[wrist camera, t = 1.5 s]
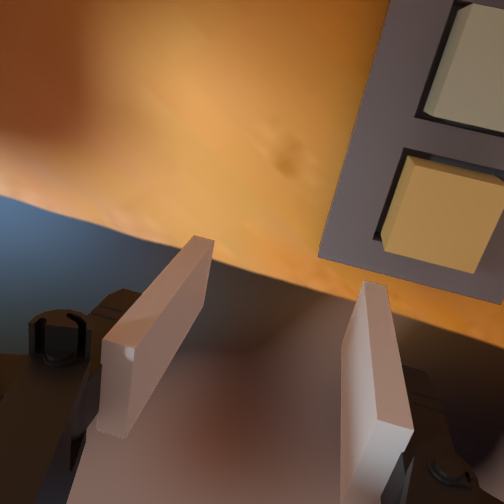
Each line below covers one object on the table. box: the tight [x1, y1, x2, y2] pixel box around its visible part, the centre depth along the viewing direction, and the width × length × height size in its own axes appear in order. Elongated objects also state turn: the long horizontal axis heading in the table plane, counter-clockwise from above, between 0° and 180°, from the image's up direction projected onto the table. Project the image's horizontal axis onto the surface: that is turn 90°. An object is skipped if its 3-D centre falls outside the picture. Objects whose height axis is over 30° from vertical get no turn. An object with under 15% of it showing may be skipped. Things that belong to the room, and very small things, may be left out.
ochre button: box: [381, 155, 504, 274], centre depth 30 cm, size 6×6×4 cm
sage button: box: [423, 3, 504, 132], centre depth 26 cm, size 6×6×4 cm
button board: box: [318, 0, 504, 305], centre depth 29 cm, size 14×30×2 cm, turn 168°
